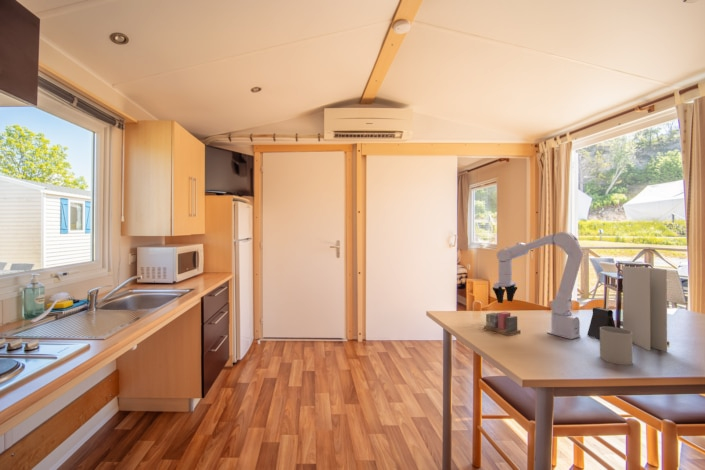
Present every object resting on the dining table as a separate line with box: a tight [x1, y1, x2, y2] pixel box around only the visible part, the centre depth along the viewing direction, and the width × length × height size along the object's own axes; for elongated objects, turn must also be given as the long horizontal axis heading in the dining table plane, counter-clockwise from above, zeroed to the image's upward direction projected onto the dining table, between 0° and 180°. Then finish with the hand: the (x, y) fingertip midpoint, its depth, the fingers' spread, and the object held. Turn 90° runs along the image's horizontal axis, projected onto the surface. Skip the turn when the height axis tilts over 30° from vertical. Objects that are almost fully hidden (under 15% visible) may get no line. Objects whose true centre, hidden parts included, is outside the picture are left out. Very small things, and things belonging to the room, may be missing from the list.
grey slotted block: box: [483, 312, 521, 337], centre depth 133 cm, size 12×8×7 cm, turn 29°
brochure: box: [622, 265, 668, 353], centre depth 116 cm, size 14×6×30 cm, turn 168°
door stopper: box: [586, 306, 617, 340], centre depth 125 cm, size 9×6×12 cm, turn 104°
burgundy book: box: [497, 311, 511, 330], centre depth 132 cm, size 2×5×7 cm, turn 119°
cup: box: [599, 326, 633, 366], centre depth 102 cm, size 8×8×10 cm
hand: (505, 301), depth 144 cm, fingers open, 7 cm apart
